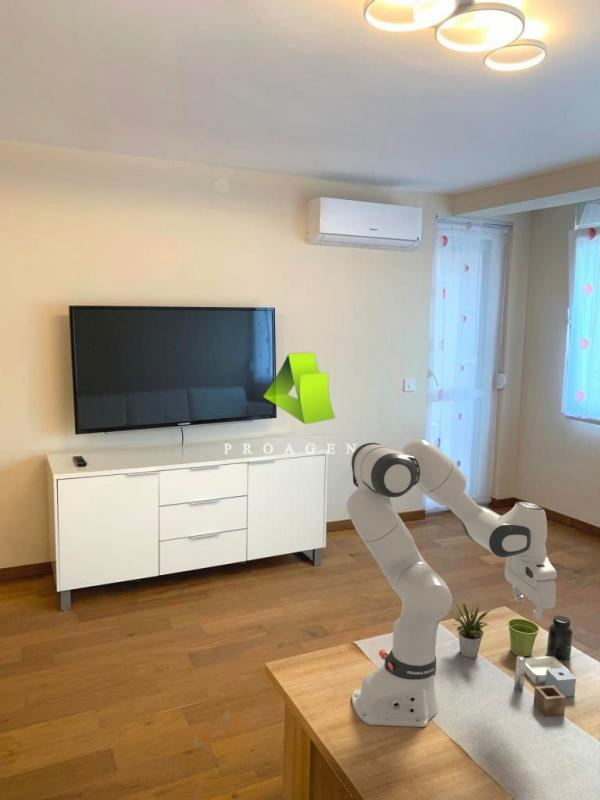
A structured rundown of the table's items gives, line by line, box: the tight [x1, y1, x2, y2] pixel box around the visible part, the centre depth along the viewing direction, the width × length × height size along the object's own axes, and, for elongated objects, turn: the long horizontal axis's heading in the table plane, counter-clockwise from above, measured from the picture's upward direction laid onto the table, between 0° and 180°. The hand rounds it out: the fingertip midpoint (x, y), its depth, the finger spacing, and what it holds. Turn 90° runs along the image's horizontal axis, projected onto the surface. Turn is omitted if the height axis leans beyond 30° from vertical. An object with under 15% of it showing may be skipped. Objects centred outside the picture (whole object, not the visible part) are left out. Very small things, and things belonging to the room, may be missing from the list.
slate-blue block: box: [544, 668, 577, 697], centre depth 176 cm, size 6×6×5 cm
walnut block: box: [533, 685, 567, 718], centre depth 167 cm, size 6×6×5 cm
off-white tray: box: [525, 655, 572, 684], centre depth 185 cm, size 11×9×2 cm
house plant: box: [449, 600, 494, 658], centre depth 194 cm, size 14×14×16 cm
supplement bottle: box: [546, 615, 574, 662], centre depth 194 cm, size 7×7×12 cm
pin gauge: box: [513, 655, 527, 692], centre depth 176 cm, size 2×2×9 cm
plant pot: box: [507, 618, 540, 657], centre depth 196 cm, size 9×9×9 cm
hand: (527, 609), depth 173 cm, fingers open, 8 cm apart
